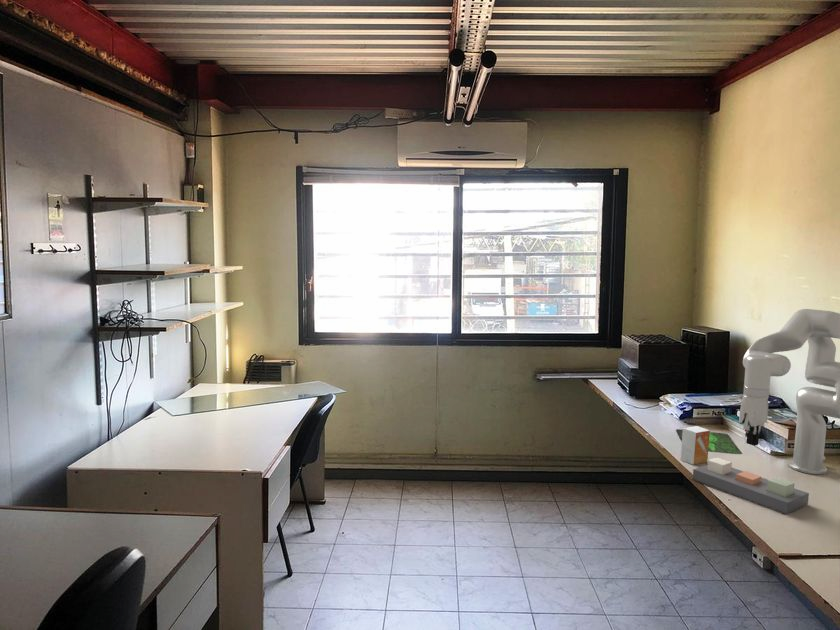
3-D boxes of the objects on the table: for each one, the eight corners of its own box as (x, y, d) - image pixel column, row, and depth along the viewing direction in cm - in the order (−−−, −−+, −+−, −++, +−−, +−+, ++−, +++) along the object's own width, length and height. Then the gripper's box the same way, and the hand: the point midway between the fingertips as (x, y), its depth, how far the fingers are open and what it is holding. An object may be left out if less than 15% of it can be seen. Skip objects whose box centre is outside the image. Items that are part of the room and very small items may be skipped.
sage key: (775, 491, 198) (776, 476, 198) (793, 497, 194) (794, 482, 193) (766, 494, 195) (768, 480, 195) (784, 501, 191) (786, 486, 190)
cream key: (715, 470, 216) (716, 457, 215) (730, 475, 211) (731, 462, 211) (706, 473, 213) (707, 460, 212) (721, 478, 208) (723, 465, 208)
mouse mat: (744, 455, 240) (744, 453, 240) (686, 450, 245) (686, 448, 245) (726, 435, 266) (727, 432, 266) (674, 430, 271) (674, 428, 271)
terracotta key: (744, 484, 207) (745, 471, 207) (760, 490, 203) (761, 476, 202) (735, 488, 204) (736, 474, 204) (751, 494, 200) (752, 479, 199)
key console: (714, 472, 221) (715, 462, 220) (807, 504, 194) (808, 493, 193) (692, 479, 213) (693, 469, 213) (786, 514, 186) (787, 502, 186)
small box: (693, 465, 227) (696, 432, 226) (679, 459, 233) (682, 428, 231) (708, 462, 231) (710, 430, 229) (694, 457, 237) (696, 425, 235)
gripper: (756, 386, 206) (753, 437, 209) (733, 392, 198) (729, 445, 201) (779, 391, 200) (775, 443, 203) (755, 397, 192) (751, 451, 195)
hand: (752, 444), depth 202 cm, fingers closed
